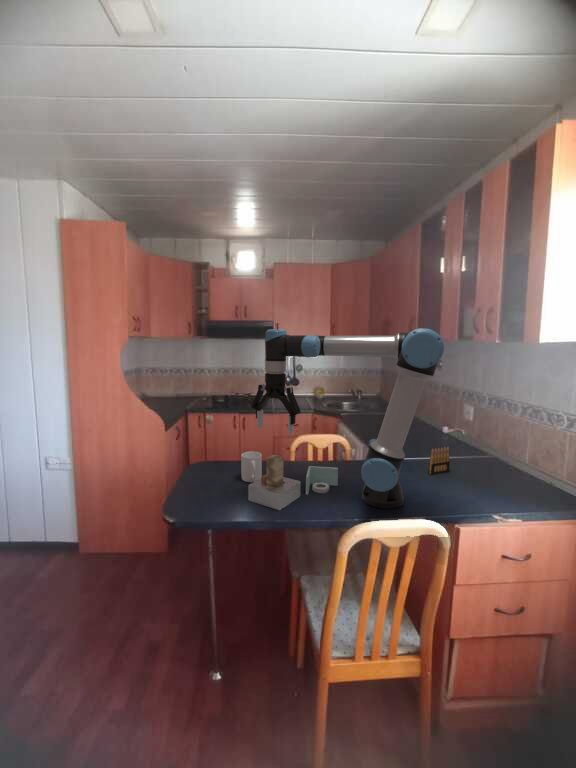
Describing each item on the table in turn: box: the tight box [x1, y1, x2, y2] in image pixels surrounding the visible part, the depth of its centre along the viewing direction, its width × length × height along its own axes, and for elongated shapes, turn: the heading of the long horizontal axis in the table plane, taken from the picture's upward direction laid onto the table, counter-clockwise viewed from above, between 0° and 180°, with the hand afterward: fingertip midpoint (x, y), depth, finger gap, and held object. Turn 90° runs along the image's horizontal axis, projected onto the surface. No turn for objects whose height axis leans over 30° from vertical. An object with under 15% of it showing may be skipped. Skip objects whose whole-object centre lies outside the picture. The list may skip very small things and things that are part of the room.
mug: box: [240, 451, 263, 483], centre depth 154 cm, size 9×12×11 cm
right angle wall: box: [305, 465, 339, 496], centre depth 146 cm, size 12×12×8 cm
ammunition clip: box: [427, 446, 451, 476], centre depth 165 cm, size 11×2×12 cm, turn 112°
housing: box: [247, 474, 301, 511], centre depth 137 cm, size 14×14×8 cm
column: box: [265, 454, 284, 488], centre depth 137 cm, size 5×5×16 cm
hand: (274, 430), depth 134 cm, fingers open, 13 cm apart
